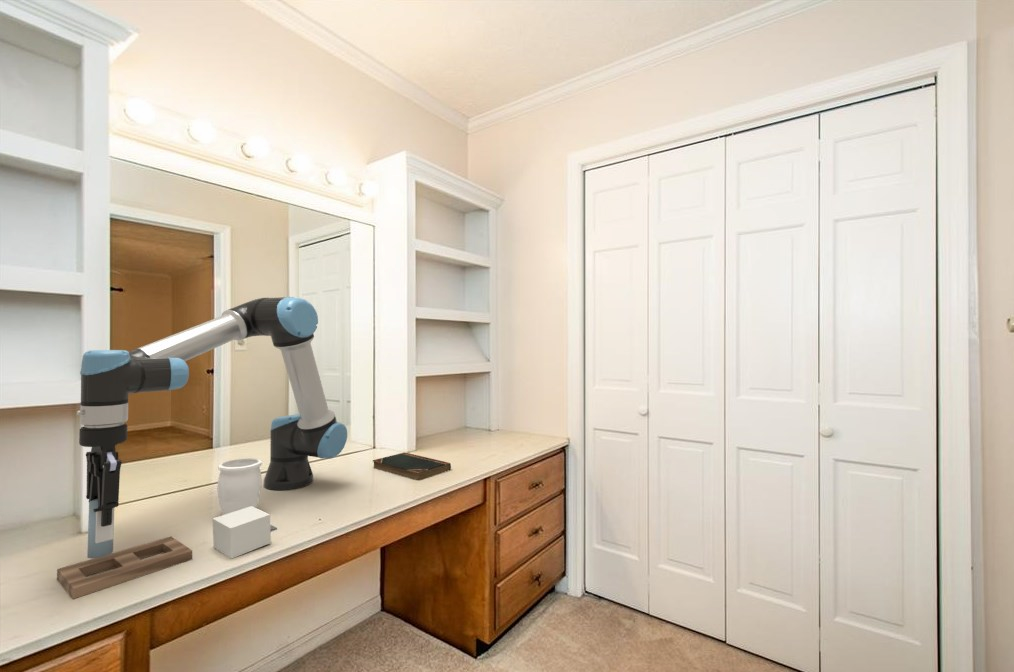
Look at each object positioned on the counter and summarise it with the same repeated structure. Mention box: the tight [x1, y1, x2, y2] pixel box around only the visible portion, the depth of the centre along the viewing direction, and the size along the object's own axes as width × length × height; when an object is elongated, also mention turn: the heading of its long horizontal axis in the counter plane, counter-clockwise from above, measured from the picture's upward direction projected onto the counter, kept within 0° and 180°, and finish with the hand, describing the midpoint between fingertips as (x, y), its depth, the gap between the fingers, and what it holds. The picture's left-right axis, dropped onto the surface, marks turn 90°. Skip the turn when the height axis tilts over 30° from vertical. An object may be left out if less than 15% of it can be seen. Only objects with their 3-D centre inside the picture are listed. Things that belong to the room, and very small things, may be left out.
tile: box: [270, 524, 278, 532], centre depth 121 cm, size 6×6×1 cm
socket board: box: [56, 535, 193, 600], centre depth 100 cm, size 12×20×2 cm, turn 145°
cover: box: [212, 506, 272, 559], centre depth 112 cm, size 9×9×7 cm
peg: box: [87, 499, 115, 559], centre depth 96 cm, size 4×4×11 cm
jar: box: [217, 457, 263, 515], centre depth 129 cm, size 11×10×15 cm
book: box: [372, 452, 452, 481], centre depth 179 cm, size 17×4×25 cm
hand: (101, 537), depth 96 cm, fingers closed on peg, 4 cm apart
